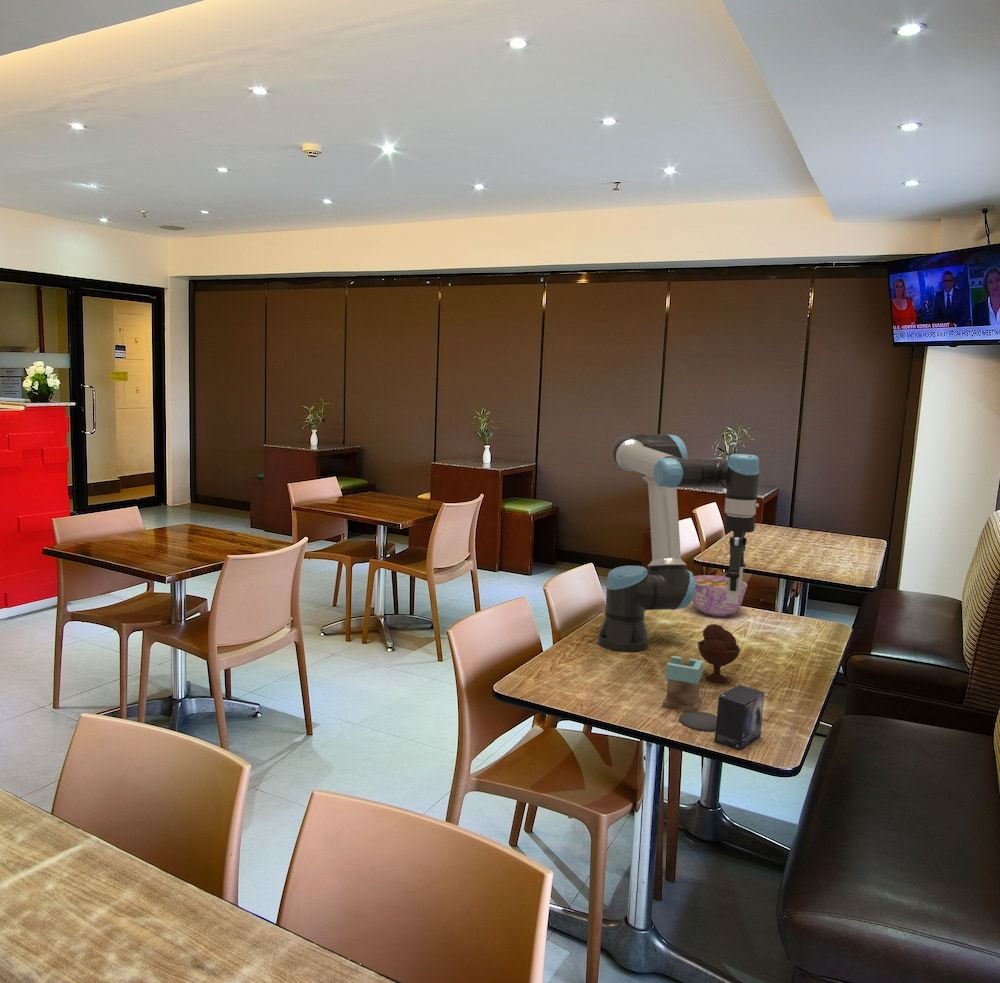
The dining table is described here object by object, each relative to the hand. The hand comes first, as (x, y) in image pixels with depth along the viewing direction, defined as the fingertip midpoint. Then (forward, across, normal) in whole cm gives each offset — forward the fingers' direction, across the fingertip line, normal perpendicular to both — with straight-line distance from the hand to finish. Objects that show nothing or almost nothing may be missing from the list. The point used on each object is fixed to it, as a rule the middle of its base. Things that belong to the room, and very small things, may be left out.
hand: (734, 597), depth 202 cm
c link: (+17, -17, +9) cm, 26 cm away
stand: (+24, -17, +9) cm, 31 cm away
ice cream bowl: (+24, +4, +3) cm, 25 cm away
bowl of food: (+24, +75, +10) cm, 79 cm away
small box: (+24, -32, -5) cm, 41 cm away
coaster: (+24, -26, +4) cm, 36 cm away
